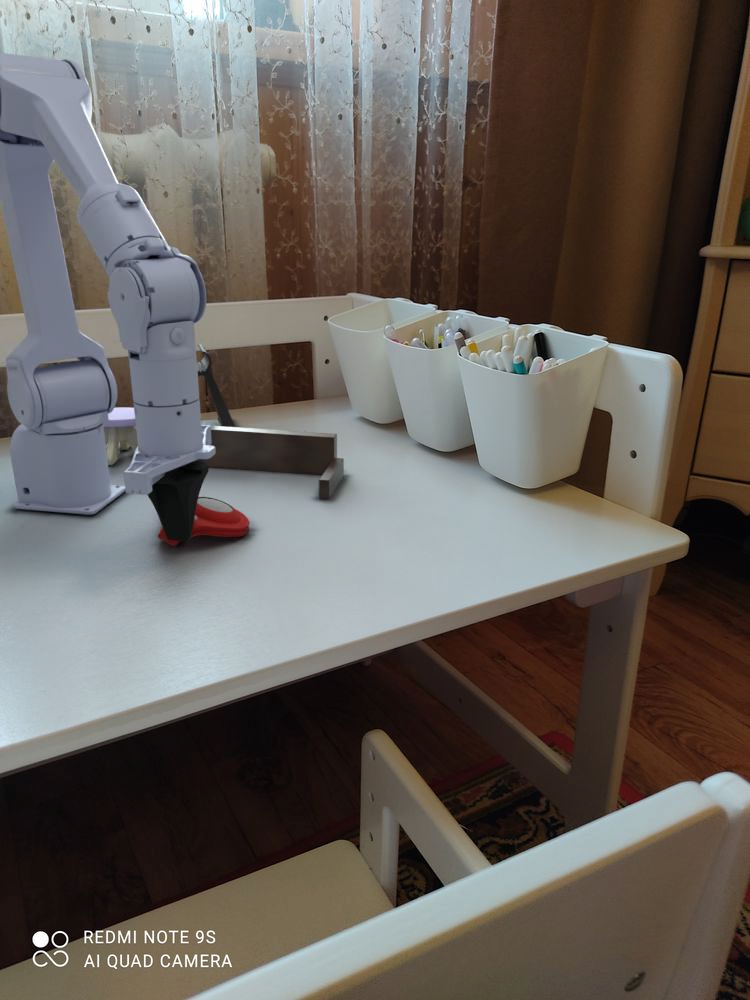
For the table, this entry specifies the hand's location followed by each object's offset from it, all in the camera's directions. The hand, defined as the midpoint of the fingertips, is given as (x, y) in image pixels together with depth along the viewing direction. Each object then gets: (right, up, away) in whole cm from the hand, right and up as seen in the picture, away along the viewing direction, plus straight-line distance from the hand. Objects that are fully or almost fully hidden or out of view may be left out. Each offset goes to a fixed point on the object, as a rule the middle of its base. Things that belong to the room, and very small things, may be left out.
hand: (179, 538), depth 73 cm
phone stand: (-7, +14, +41) cm, 44 cm away
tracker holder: (0, +1, +7) cm, 7 cm away
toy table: (-15, +9, +29) cm, 34 cm away
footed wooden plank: (+3, +6, +21) cm, 22 cm away
